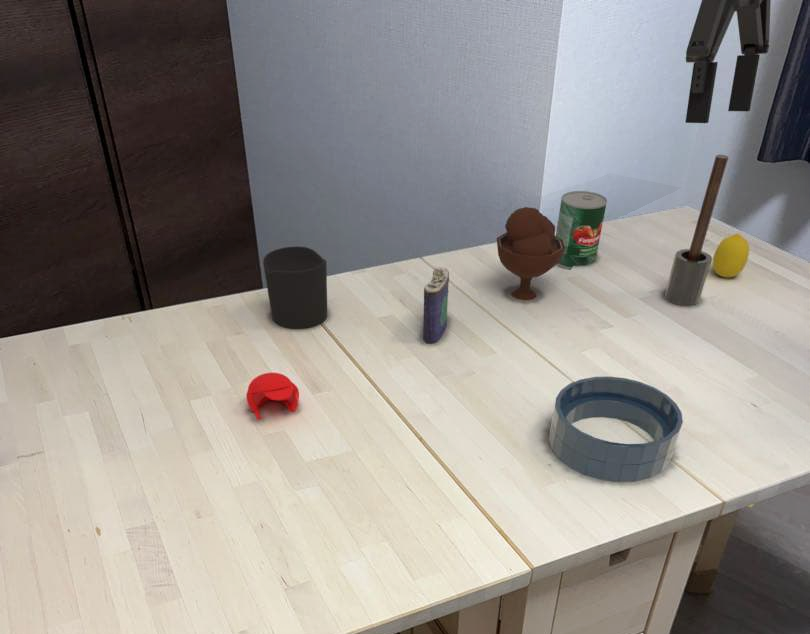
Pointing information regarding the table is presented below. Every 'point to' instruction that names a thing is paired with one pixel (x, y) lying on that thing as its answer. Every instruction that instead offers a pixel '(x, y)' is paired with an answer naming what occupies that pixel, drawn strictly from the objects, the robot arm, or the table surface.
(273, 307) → the pen holder
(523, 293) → the ice cream bowl
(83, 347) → the table surface
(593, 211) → the canned tomato
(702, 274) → the utensil pot
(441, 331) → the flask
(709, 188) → the stick
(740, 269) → the lemon
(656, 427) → the grey-blue hollow ring
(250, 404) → the cap
